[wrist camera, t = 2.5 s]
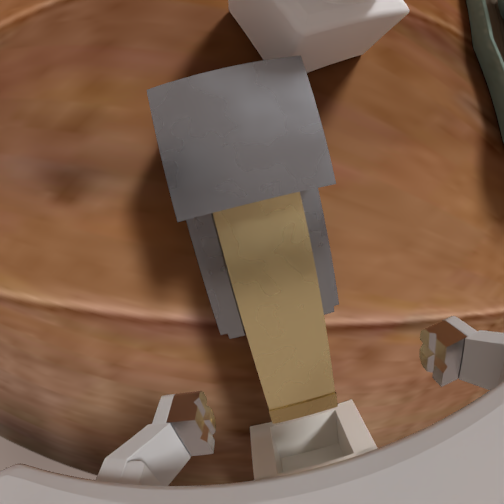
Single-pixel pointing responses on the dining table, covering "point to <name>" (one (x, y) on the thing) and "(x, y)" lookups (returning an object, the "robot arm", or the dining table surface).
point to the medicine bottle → (316, 27)
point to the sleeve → (243, 161)
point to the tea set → (490, 48)
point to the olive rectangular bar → (279, 303)
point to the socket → (309, 441)
